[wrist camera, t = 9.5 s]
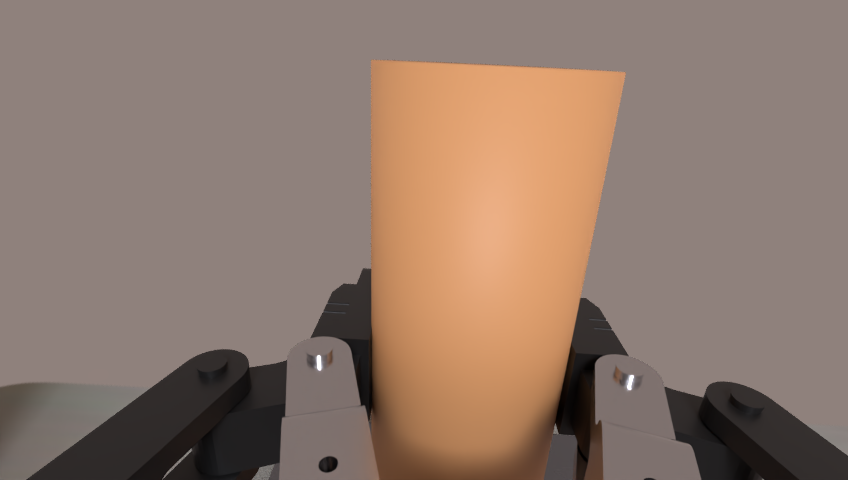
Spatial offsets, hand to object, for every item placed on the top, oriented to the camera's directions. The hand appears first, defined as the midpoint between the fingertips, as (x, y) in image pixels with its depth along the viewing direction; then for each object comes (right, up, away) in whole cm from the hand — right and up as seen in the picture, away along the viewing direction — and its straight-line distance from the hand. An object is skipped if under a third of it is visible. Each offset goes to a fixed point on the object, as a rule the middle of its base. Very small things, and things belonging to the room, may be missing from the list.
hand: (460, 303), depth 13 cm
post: (-1, -10, +1) cm, 10 cm away
